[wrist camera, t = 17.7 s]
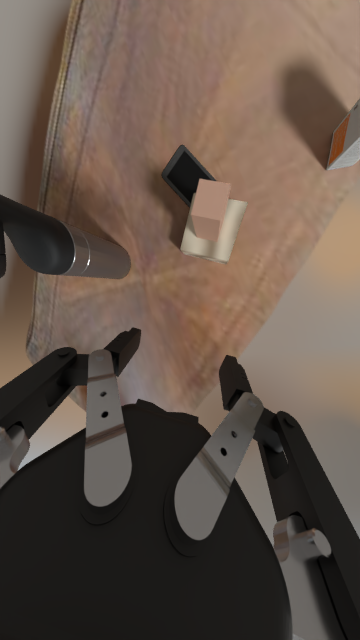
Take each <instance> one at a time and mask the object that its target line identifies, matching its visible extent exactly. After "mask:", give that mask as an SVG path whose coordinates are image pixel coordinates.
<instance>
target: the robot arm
mask: <svg viewBox="0 0 360 640" xmlns="http://www.w3.org/2000/svg"><path fill="white" fill-rule="evenodd" d="M4 231H5V233H6V234H7V236H8V237H9V239H10V240H11V242H12V244H13V246H14V247H15V250H16V251H17V253H18V255H19V256H20V258H21V259H22V260H23V262H24V263H25V264H26V265H27V266H29V267H30V268H31V269H33V270H34V271H37V272H39V273H43V274H51V275H65V276H81V277H95V278H109V279H121V278H124V277H125V276H126V275H127V274H128V272H129V270H130V265H131V262H130V257H129V255H128V253H127V251H126V250H125V249H124V248H122V247H121V246H118V245H116V244H114V243H111V242H109V241H107V240H104V239H102V238H100V237H97V236H95V235H93V234H90V233H88V232H86V231H83V230H81V229H79V228H76V227H74V226H71V225H69V224H67V223H64V222H62V221H60V220H57V219H55V218H53V217H50V216H48V215H45V214H43V213H41V212H38V211H36V210H34V209H31V208H29V207H27V206H24V205H22V204H20V203H18V202H15V201H13V200H11V199H9V198H7V197H4V196H2V195H0V278H1V277H3V276H4V274H5V271H6V254H4V253H5V241H4ZM140 337H141V330H140V329H137V328H132V329H131V330H130V331H129V332H128V331H124V332H122V333H120V334H119V335H118V336H117V337H116V338H115V339H114V340H112V341H111V342H110V343H109V344H108V345H107V346H106V347H105V348H104V349H100V350H96V351H94V352H92V353H91V354H77V351H76V350H75V349H74V348H71V347H64V348H60V349H57V350H55V351H53V352H52V353H50V354H49V355H47V356H46V357H45V358H43V359H42V360H40V361H39V362H37V363H36V364H35V365H33V366H32V367H30V368H29V369H28V370H26V371H24V372H23V373H22V374H20V375H19V376H17V377H16V378H14V379H13V380H12V381H10V382H9V383H7V384H6V385H4V386H3V387H2V388H0V640H360V539H359V537H358V535H357V533H356V531H355V529H354V527H353V525H352V523H351V522H350V520H349V518H348V516H347V514H346V512H345V510H344V508H343V506H342V504H341V503H340V501H339V499H338V497H337V495H336V493H335V491H334V489H333V487H332V485H331V483H330V482H329V480H328V478H327V476H326V474H325V472H324V471H323V468H322V466H321V465H320V463H319V461H318V459H317V457H316V455H315V453H314V451H313V449H312V448H311V445H310V443H309V442H308V440H307V438H306V436H305V434H304V432H303V430H302V428H301V426H300V425H299V423H298V422H297V421H296V420H295V419H294V418H293V417H292V416H290V415H289V414H288V413H286V412H283V411H279V412H278V413H277V414H275V413H272V412H271V411H269V410H268V409H266V408H264V407H263V404H262V402H261V400H260V399H259V398H258V397H257V396H255V395H254V394H253V392H252V389H251V387H250V384H249V381H248V380H247V376H246V373H245V370H244V369H243V367H242V366H241V365H240V364H238V363H237V359H236V357H233V356H229V355H226V357H225V359H224V361H223V363H222V365H221V367H220V370H219V377H220V385H221V392H222V400H223V407H224V409H225V410H228V411H229V413H228V415H227V416H226V417H225V418H224V420H223V421H222V423H221V424H220V425H219V427H218V428H217V429H216V431H215V432H214V433H213V435H212V436H211V435H210V433H209V432H208V431H207V430H206V429H205V428H204V427H203V426H202V425H200V424H199V423H198V417H196V416H193V415H190V414H186V413H179V412H166V411H164V410H163V409H161V408H160V407H158V406H157V405H155V404H153V403H151V402H147V401H144V400H141V399H138V400H137V403H136V404H127V405H124V406H121V403H120V397H119V391H118V385H117V379H116V376H117V377H118V376H119V375H120V374H121V372H122V371H123V369H124V368H125V366H126V365H127V364H128V362H129V361H130V359H131V358H132V356H133V355H134V354H135V352H136V351H137V349H138V347H139V344H140ZM77 385H87V417H86V428H84V429H83V430H81V431H79V432H78V433H76V434H74V435H73V436H71V437H69V438H68V439H66V440H65V441H63V442H61V443H60V444H58V445H56V446H55V447H53V448H52V449H50V450H48V451H47V452H45V453H43V454H42V455H40V456H39V457H37V458H35V459H34V460H32V461H31V462H29V463H28V464H26V465H25V466H24V467H22V468H21V469H20V470H18V467H19V465H20V463H21V462H22V460H23V459H24V457H25V456H26V454H27V452H28V450H29V446H30V443H29V439H30V438H31V436H32V435H33V434H34V433H35V432H36V431H37V430H38V428H39V427H40V426H41V425H42V424H43V423H44V422H45V421H46V419H47V418H48V417H49V416H50V415H51V414H52V413H53V412H54V411H55V409H56V408H57V407H58V406H59V405H60V404H61V403H62V402H63V400H64V399H65V398H66V397H67V396H68V395H69V394H70V393H71V391H72V390H73V389H74V388H75V387H76V386H77ZM252 438H253V439H255V440H256V441H257V442H258V446H259V450H260V454H261V458H262V463H263V467H264V471H265V475H266V479H267V483H268V487H269V491H270V495H271V499H272V503H273V507H274V511H275V515H276V519H277V523H276V524H275V526H274V530H273V537H274V548H273V546H272V544H271V542H270V541H269V539H268V537H267V535H266V533H265V531H264V530H263V528H262V526H261V524H260V523H259V521H258V519H257V517H256V516H255V513H254V511H253V510H252V508H251V506H250V504H249V502H248V501H247V499H246V497H245V495H244V493H243V492H242V490H241V488H240V486H239V485H238V483H237V481H236V479H235V475H236V472H237V470H238V468H239V466H240V464H241V462H242V459H243V457H244V455H245V453H246V451H247V449H248V446H249V444H250V442H251V440H252ZM283 450H284V452H285V454H284V452H283ZM285 455H286V457H285ZM286 458H287V460H286ZM287 461H288V462H287ZM17 470H18V471H17Z"/></svg>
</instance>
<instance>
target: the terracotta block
mask: <svg viewBox="0 0 360 640" xmlns="http://www.w3.org/2000/svg"><path fill="white" fill-rule="evenodd" d="M230 188H231V184H229V183H223V182H217V181H211V180H205V179H199V183H198V188H197V192H196V196H195V200H194V204H193V208H192V212H191V217H192V221H193V224H194V228H195V232H196V236H197V238H201V239H206V240H210V241H215V242H217V241H218V238H219V235H220V231H221V228H222V225H223V221H224V218H225V213H226V208H227V203H228V198H229V193H230Z"/></svg>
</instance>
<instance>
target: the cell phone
mask: <svg viewBox="0 0 360 640" xmlns="http://www.w3.org/2000/svg"><path fill="white" fill-rule="evenodd" d="M162 177H163V179H164V180H165V181H166V182H167V183H168V184H169V186H170V187H171V188H172V189H173V190H174V191H175V192H176V193H177V194H178V195H179V196H180V197H181V199H182V200H183V201H184V202H185V203H186V204H187V205H188V206H189V207H191V202H192V198H193V194H194V193H196V192H197V188H198V183H199V179H205V180H211V181H216V180H215V179H214V178H213V177H212V176H211V175H210V173H209V172H208V171H207V170H206V169H205V168H204V167H203V166H202V165H201V164H200V163H199V161H198V160H197V159H196V158H195V157H194V156H193V155H192V154H191V153H190V152H189V150H188V149H187V148H186V147H185V146H184V145H181V146H180V147H179V148H178V150H177V151H176V153H175V154H174V156H173V157H172V159H171V160H170V162H169V163H168V165H167V166H166V168H165V169H164V171H163V172H162Z"/></svg>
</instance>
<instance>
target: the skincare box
mask: <svg viewBox="0 0 360 640" xmlns="http://www.w3.org/2000/svg"><path fill="white" fill-rule="evenodd" d="M358 160H360V99H359V100H358V101H357V103H356V104H355V105H354V106H353V108H352V109H351V110H350V111H349V113H348V114H347V115H346V116H345V118H344V119H343V120H342V122H341V123H340V124H339V125H338V127H337V128H336V129H335V130H334V132H333V138H332V143H331V149H330V154H329V159H328V164H327V169H326V170H332V169H337V168H343V167H349V166H352V165H354V164H355V163H356V162H357V161H358Z"/></svg>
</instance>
